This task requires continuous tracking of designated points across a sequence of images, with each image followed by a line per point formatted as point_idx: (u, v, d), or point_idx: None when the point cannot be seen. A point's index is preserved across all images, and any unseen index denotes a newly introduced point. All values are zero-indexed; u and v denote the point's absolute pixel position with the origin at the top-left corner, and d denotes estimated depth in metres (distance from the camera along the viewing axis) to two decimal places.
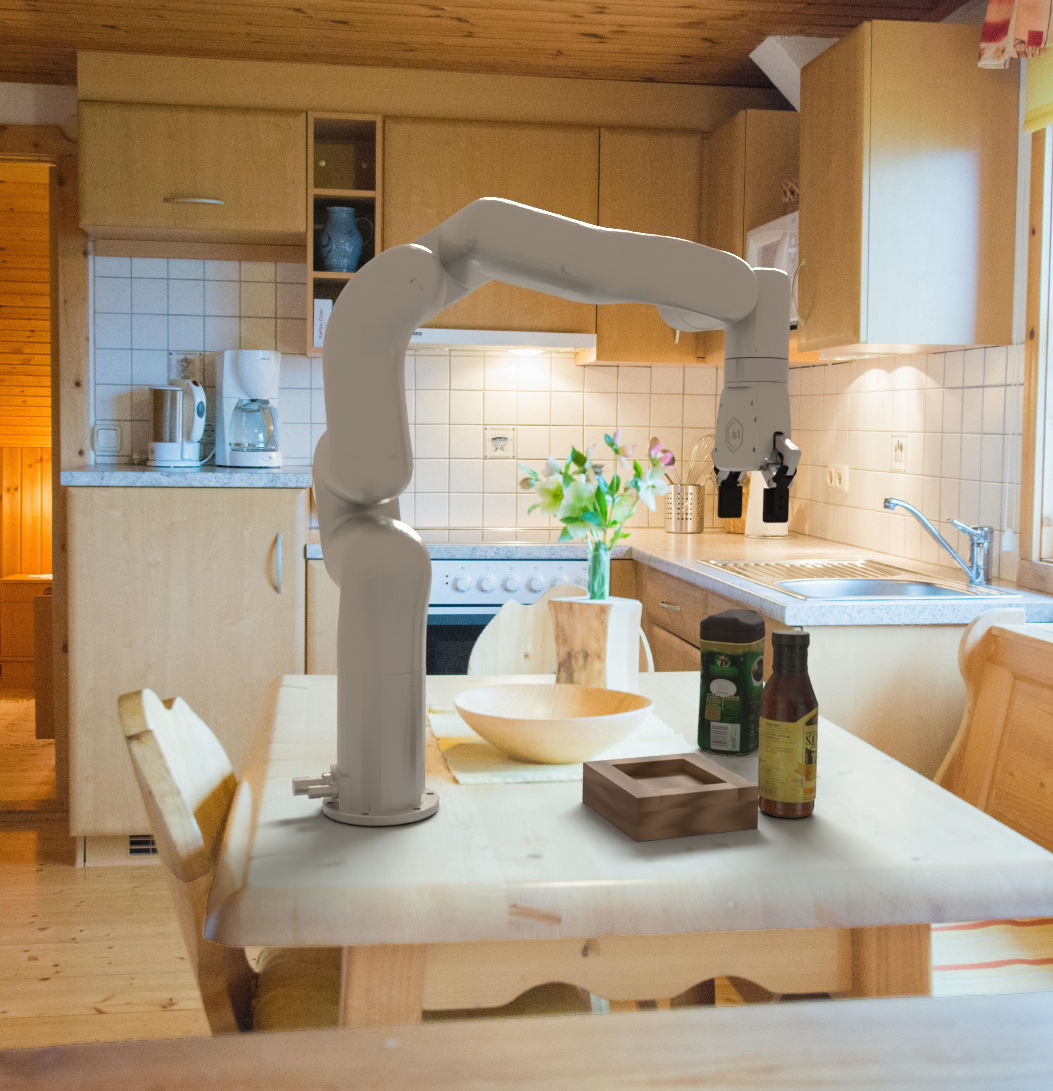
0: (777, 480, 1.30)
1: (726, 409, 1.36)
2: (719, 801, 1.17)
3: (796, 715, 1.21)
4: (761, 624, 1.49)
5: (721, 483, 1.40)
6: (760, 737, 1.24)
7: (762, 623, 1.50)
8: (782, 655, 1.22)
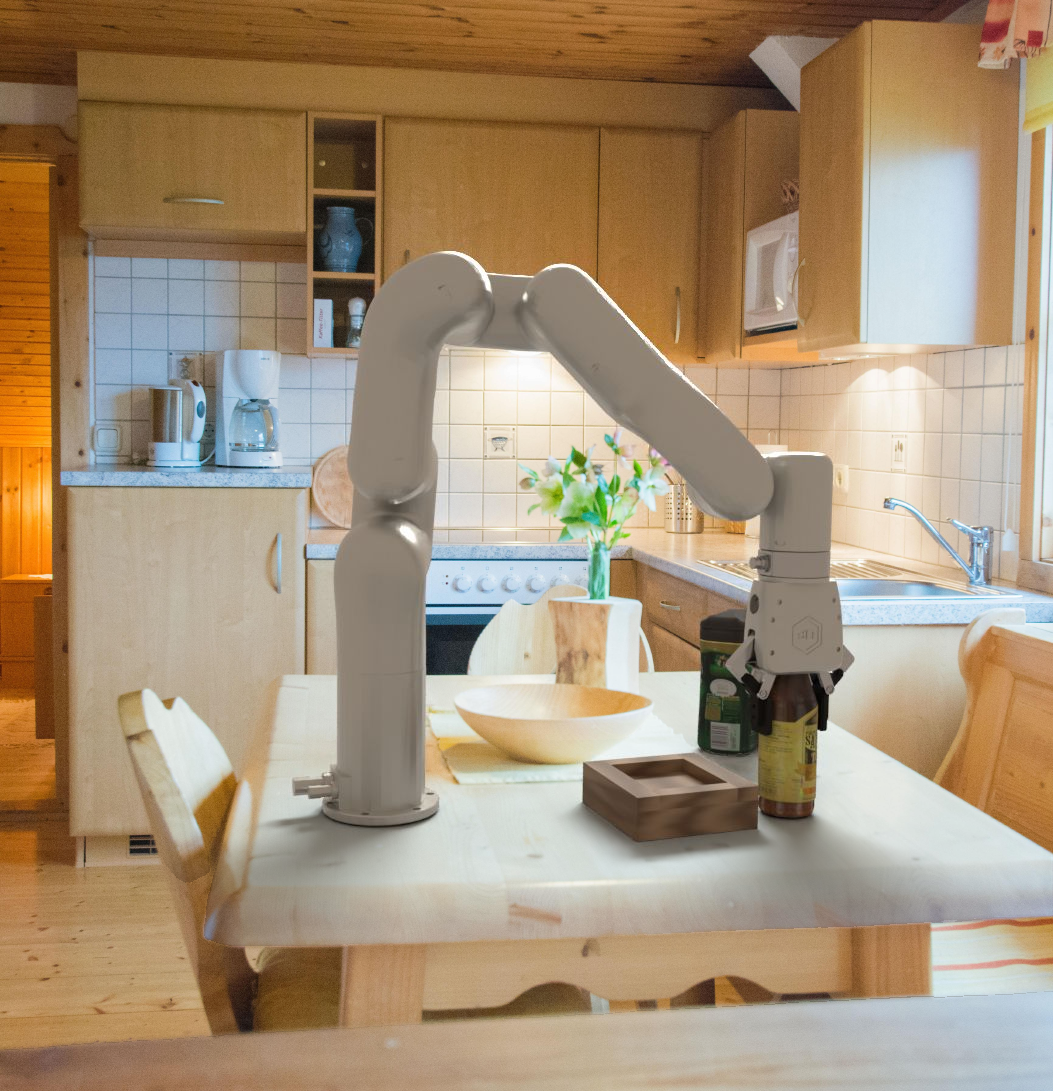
0: None
1: (791, 606, 1.20)
2: (719, 801, 1.17)
3: (796, 715, 1.21)
4: None
5: (767, 694, 1.21)
6: (760, 737, 1.24)
7: None
8: None
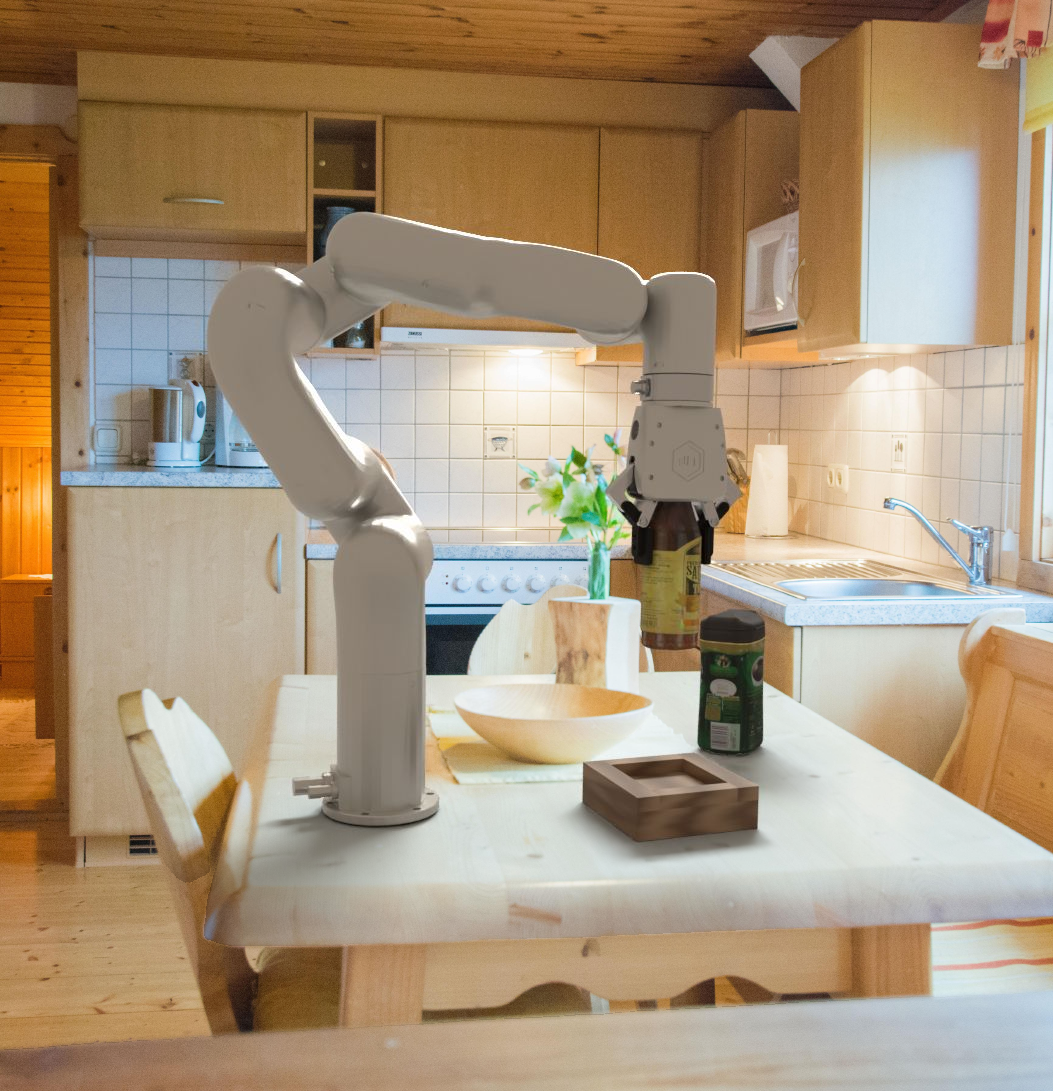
0: None
1: (672, 430, 1.17)
2: (719, 801, 1.17)
3: (676, 543, 1.18)
4: (761, 624, 1.49)
5: None
6: (642, 570, 1.21)
7: (762, 623, 1.50)
8: None
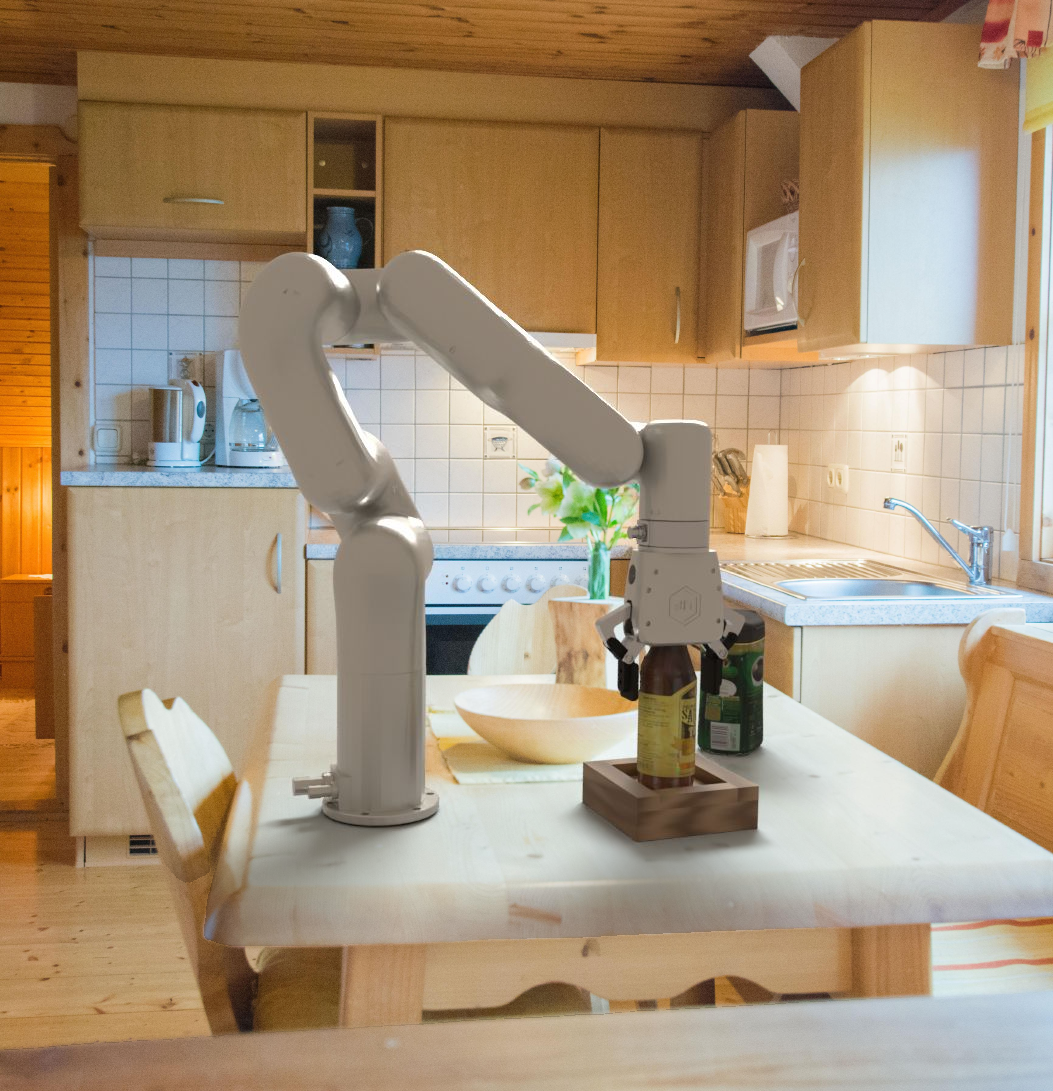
0: (725, 649, 1.23)
1: (668, 576, 1.18)
2: (719, 801, 1.17)
3: (672, 688, 1.19)
4: (761, 624, 1.49)
5: (632, 660, 1.19)
6: (638, 711, 1.22)
7: (762, 623, 1.50)
8: None
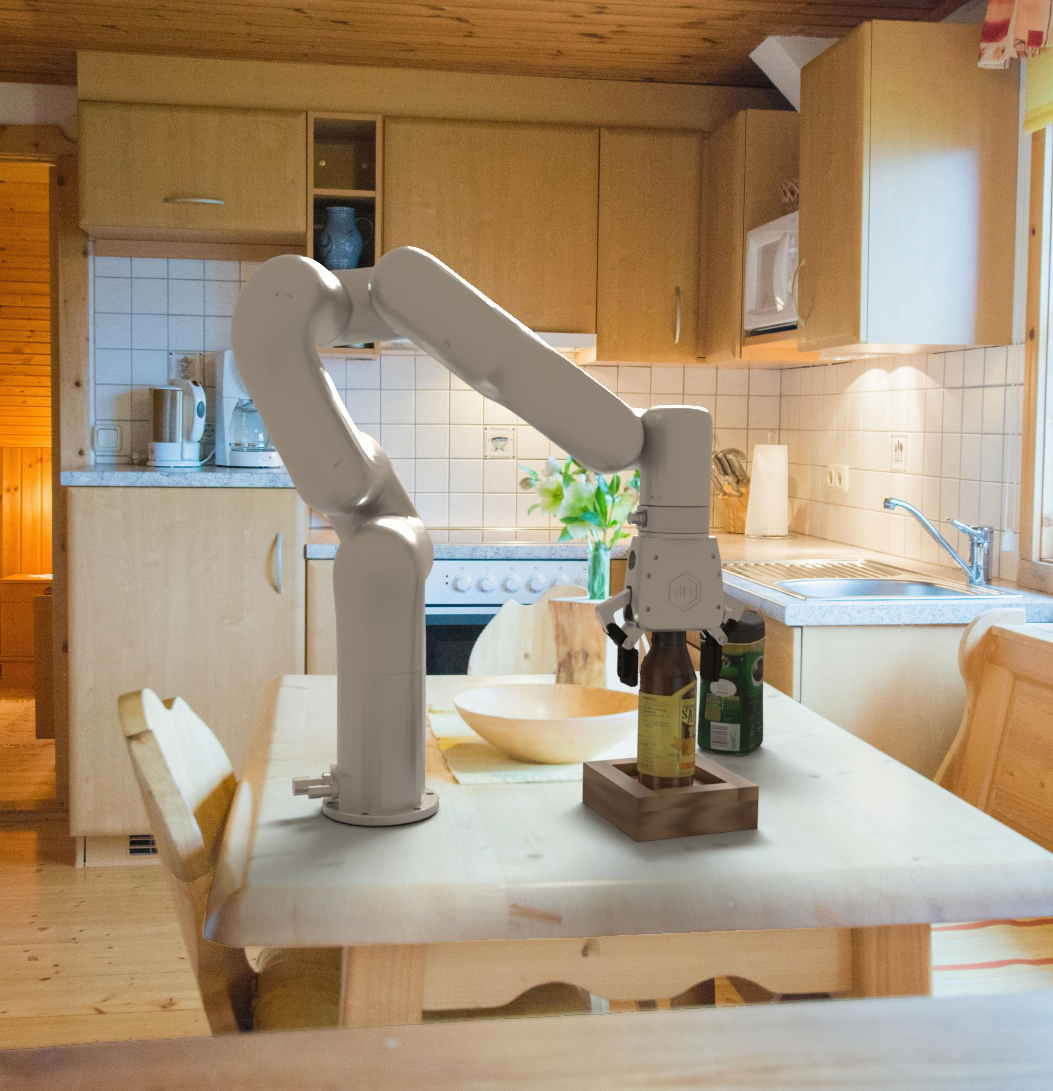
0: (725, 635, 1.23)
1: (668, 562, 1.18)
2: (719, 801, 1.17)
3: (672, 688, 1.19)
4: (761, 624, 1.49)
5: None
6: (638, 711, 1.22)
7: (762, 623, 1.50)
8: None
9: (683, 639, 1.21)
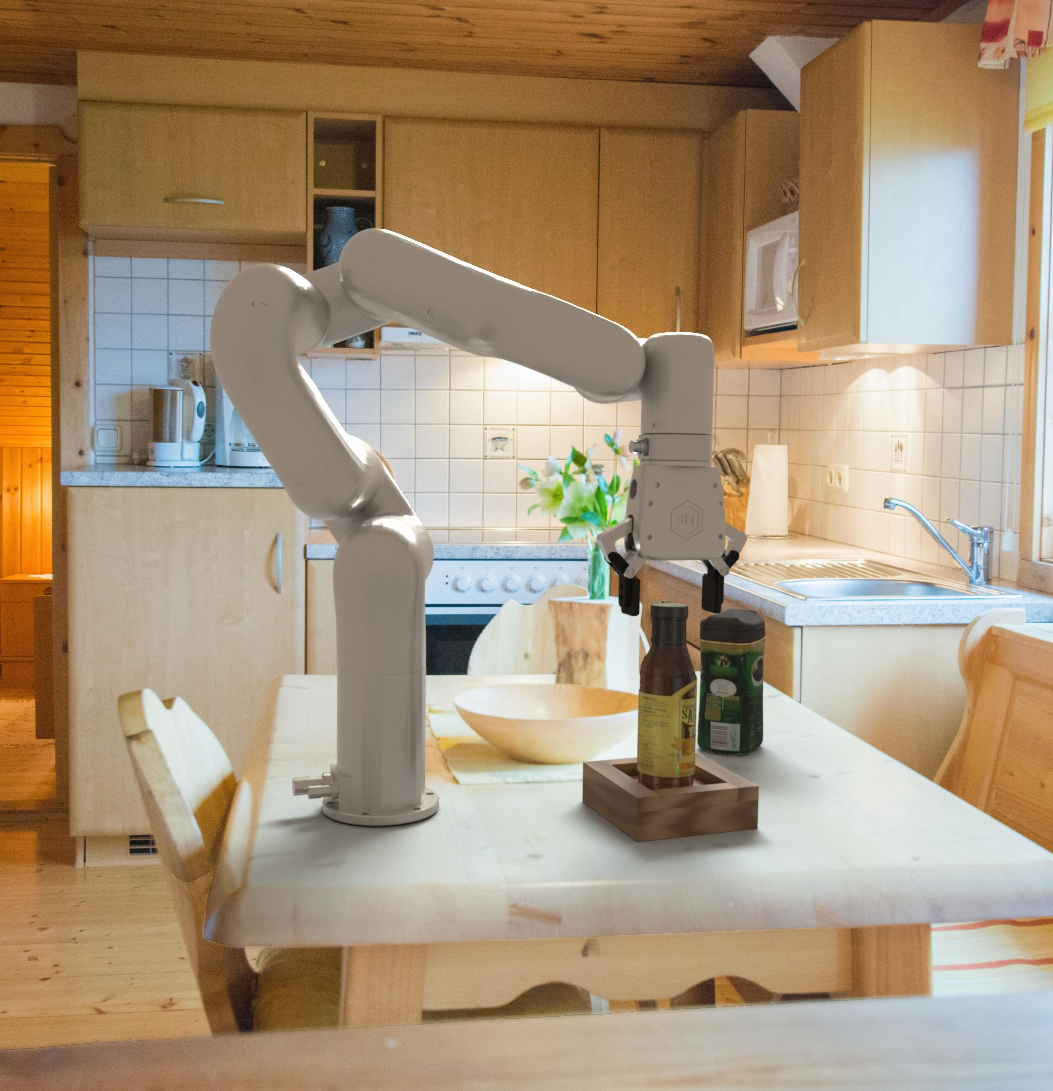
0: (727, 567, 1.22)
1: (670, 490, 1.17)
2: (719, 801, 1.17)
3: (672, 688, 1.19)
4: (761, 624, 1.49)
5: (634, 575, 1.18)
6: (638, 711, 1.22)
7: (762, 623, 1.50)
8: (659, 628, 1.20)
9: (683, 639, 1.21)
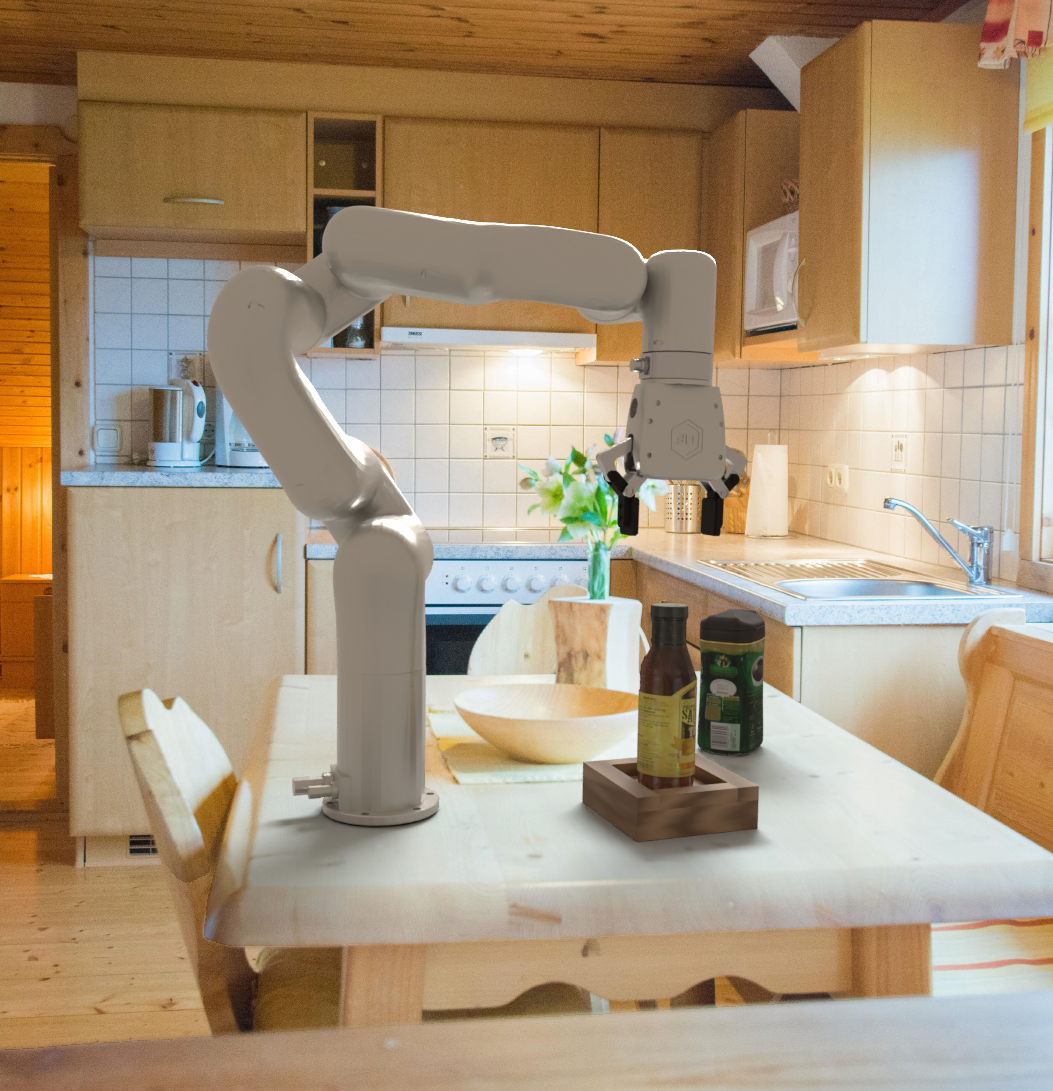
0: None
1: (670, 408, 1.16)
2: (719, 801, 1.17)
3: (672, 688, 1.19)
4: (761, 624, 1.49)
5: (633, 494, 1.17)
6: (638, 711, 1.22)
7: (762, 623, 1.50)
8: (659, 628, 1.20)
9: (683, 639, 1.21)
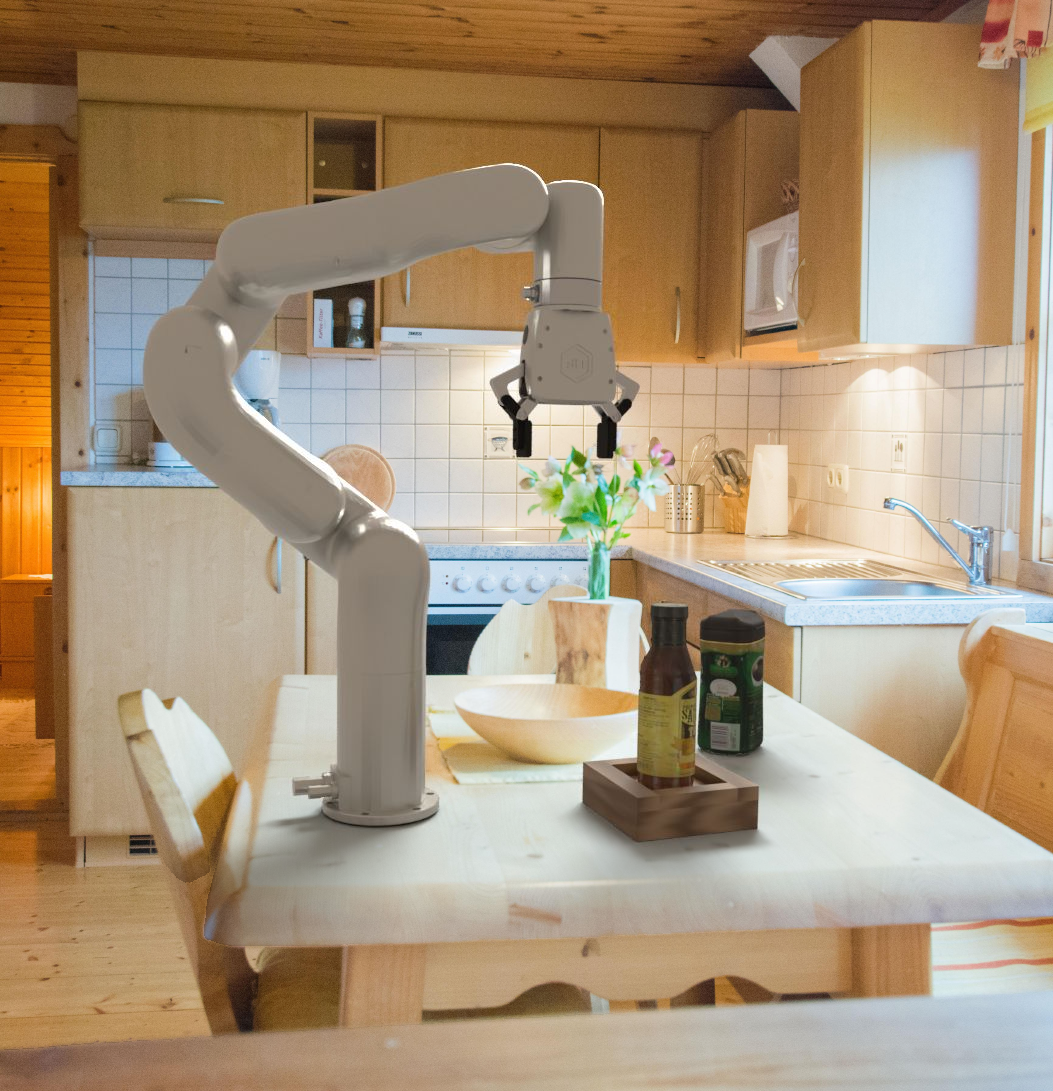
0: None
1: (559, 334, 1.21)
2: (719, 801, 1.17)
3: (672, 688, 1.19)
4: (761, 624, 1.49)
5: (526, 417, 1.22)
6: (638, 711, 1.22)
7: (762, 623, 1.50)
8: (659, 628, 1.20)
9: (683, 639, 1.21)
